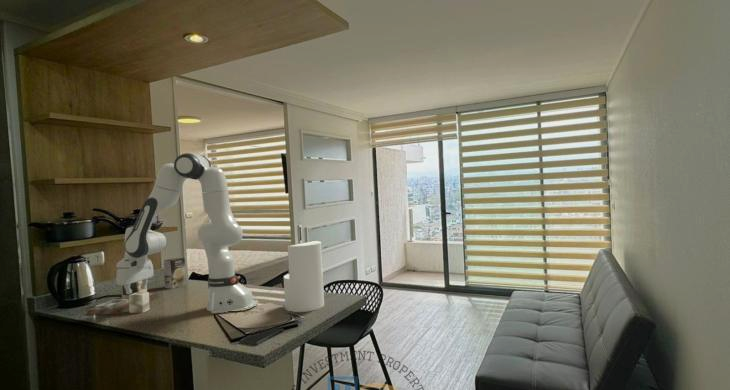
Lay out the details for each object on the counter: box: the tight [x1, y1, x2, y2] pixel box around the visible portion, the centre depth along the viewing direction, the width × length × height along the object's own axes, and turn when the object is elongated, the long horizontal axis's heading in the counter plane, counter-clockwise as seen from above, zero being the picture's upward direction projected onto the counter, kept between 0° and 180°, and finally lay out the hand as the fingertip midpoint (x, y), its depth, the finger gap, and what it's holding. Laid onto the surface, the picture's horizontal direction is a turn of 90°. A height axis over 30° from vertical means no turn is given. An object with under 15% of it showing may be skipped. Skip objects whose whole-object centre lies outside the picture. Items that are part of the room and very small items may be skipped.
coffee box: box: [163, 257, 186, 290], centre depth 220 cm, size 9×6×16 cm
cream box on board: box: [86, 280, 159, 315], centre depth 185 cm, size 15×28×14 cm, turn 174°
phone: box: [239, 327, 284, 347], centre depth 135 cm, size 8×1×15 cm
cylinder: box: [283, 240, 325, 313], centre depth 170 cm, size 17×17×28 cm
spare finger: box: [128, 291, 151, 314], centre depth 174 cm, size 7×4×8 cm, turn 84°
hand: (136, 291), depth 173 cm, fingers open, 8 cm apart
